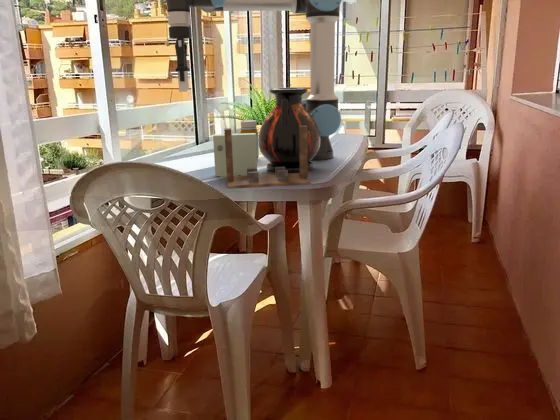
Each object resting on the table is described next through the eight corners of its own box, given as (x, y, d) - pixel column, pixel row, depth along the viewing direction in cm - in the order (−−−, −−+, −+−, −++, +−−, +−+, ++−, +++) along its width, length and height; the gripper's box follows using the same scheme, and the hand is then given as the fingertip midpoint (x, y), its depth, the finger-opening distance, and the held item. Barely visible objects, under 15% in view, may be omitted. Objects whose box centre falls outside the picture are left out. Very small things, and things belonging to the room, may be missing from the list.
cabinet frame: (303, 177, 162) (302, 123, 157) (310, 186, 150) (310, 128, 145) (226, 181, 159) (223, 126, 154) (228, 190, 147) (225, 131, 142)
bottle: (239, 160, 194) (238, 121, 190) (243, 157, 201) (241, 119, 197) (257, 160, 193) (255, 121, 189) (260, 157, 200) (258, 119, 196)
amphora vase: (266, 163, 186) (263, 87, 178) (323, 164, 183) (323, 86, 175) (253, 176, 166) (250, 90, 158) (317, 176, 162) (317, 89, 154)
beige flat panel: (256, 174, 169) (255, 133, 165) (257, 176, 165) (256, 134, 161) (215, 176, 167) (213, 134, 163) (215, 178, 163) (213, 136, 159)
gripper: (171, 29, 178) (175, 89, 184) (165, 23, 154) (170, 92, 160) (192, 28, 179) (196, 89, 185) (189, 22, 155) (194, 92, 161)
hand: (184, 90), depth 173 cm, fingers open, 13 cm apart
